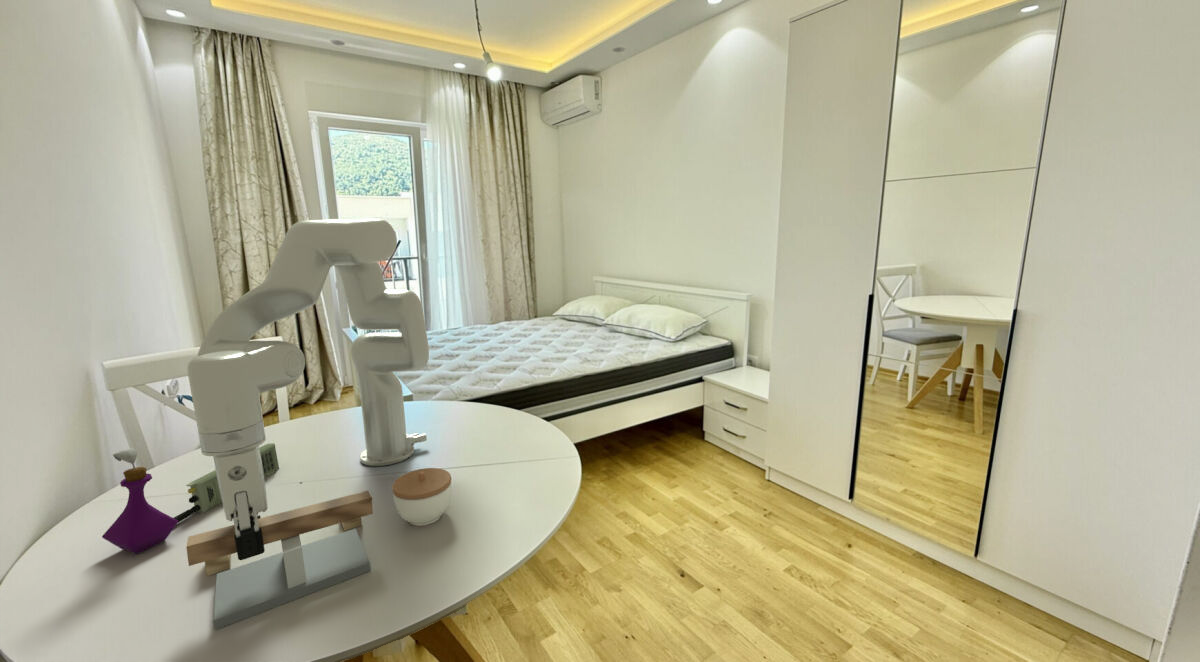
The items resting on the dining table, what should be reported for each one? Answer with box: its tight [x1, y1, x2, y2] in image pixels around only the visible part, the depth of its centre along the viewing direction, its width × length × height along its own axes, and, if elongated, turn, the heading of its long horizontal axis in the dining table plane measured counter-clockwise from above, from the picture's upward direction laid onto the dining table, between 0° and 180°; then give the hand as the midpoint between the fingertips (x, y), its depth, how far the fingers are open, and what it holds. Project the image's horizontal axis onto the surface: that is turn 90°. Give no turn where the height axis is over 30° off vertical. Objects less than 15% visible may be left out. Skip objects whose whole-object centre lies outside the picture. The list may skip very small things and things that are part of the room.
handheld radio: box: [173, 442, 280, 523], centre depth 102 cm, size 7×3×25 cm
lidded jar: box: [391, 467, 452, 527], centre depth 93 cm, size 11×11×9 cm
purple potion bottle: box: [101, 448, 179, 555], centre depth 84 cm, size 8×8×18 cm
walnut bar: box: [185, 490, 374, 567], centre depth 75 cm, size 24×3×3 cm, turn 127°
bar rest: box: [204, 517, 363, 576], centre depth 86 cm, size 23×5×4 cm, turn 127°
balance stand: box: [213, 527, 371, 631], centre depth 76 cm, size 20×12×8 cm, turn 127°
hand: (251, 548), depth 73 cm, fingers open, 3 cm apart
